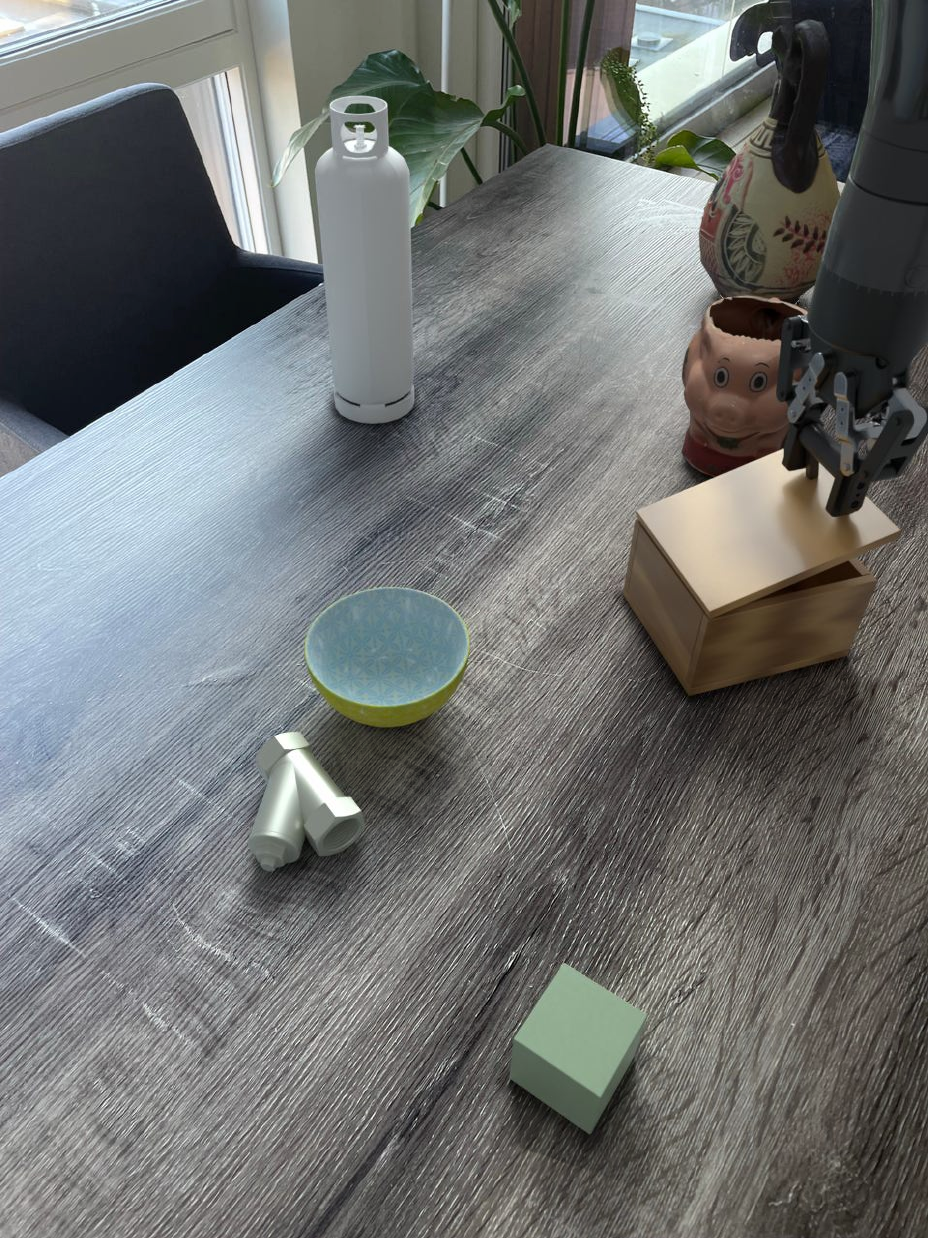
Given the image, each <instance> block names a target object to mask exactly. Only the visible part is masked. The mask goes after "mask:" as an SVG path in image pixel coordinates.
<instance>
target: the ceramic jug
mask: <svg viewBox="0 0 928 1238" xmlns="http://www.w3.org/2000/svg"><path fill="white" fill-rule="evenodd" d="M825 27H826V26H825V25H824V23H823V22H822V21H817V20H814V19H805V20H802V21H801V22H799V23H796V24H795V25H794V28H793V30H792V33H791V31H790V29H789V28H788V26H786V25H783V24H781V25H779V26H778V27H777V28H776V29H775V30H774V32H773V33H772V35H771V43H770V44H771V45H770V50H771V51H772V52H773V54H775V56H776V57H777V58H778V59H779V60H780V61H781V63H782V74H781V75H782V76H781V83H780V87H779V91H778V92H777V95H776V98H775V102H774V106H773V108H772V110H771V112H770V113H768V115H767V116H766V118H765V119H764V120H763V122H762V123H761V124H760V125H759V127H757V129H756V130H755V131H754V132H753V134H751V136H750V137H749V138H748V139H747V140H746V141H745V143H744V144H743V146H742V147H741V148H740V149H739V150H738V152H737V153H736V154H735V156H734V157H733V158H732V160H731V161H730V162H729V163H728V165H727V166H726V167H725V169H724V170H723V172H722V173H721V175H720V177H719V178H718V179H717V181H716V183H715V185H714V187H713V189H712V191H711V194H710V195H709V197H708V199H707V202H706V204H705V205H704V208H703V214H702V216H701V220H700V225H699V228H698V229H699V230H698V247H699V257H700V258H699V261H700V264H701V266H702V267H703V269H704V270H705V272H706V273H707V275H708V277H709V279H710V280H711V282H712V283H713V285H714V287H715V290H716V292H717V294H718V293H719V294H720V295H721V296H722V297H723V298H727V297H737V296H757V297H762V298H767V299H771V298H773V297H774V298H778V299H779V300H780V301H783V302H786V303H790V304H793V305H794V304H795V303H796V302H797V301H798V300H799V301H800V297H802V296H803V295H805V294H806V293H807V292H808V291H809V290H811V289H812V288H814V286H815V282H816V279H817V275H818V271H819V267H820V263H821V259H822V255H823V252H824V248H825V244H826V240H827V236H828V232H829V229H830V225H831V221H832V217H833V214H834V211H835V208H836V205H837V203H838V200H839V198H840V196H841V192H840V190H839V183H838V180H837V177H836V173H835V172H834V170H833V164H832V162H831V161H830V160H831V159H830V157H829V154H828V151H827V150H826V148H825V146H824V143H823V139H822V136H821V135H820V133H819V131H818V129H817V127H816V120H817V115H818V111H819V107H820V103H821V102H822V98H823V92H824V89H825V86H826V84H827V74H828V70H829V62H830V56H831V55H830V54H831V51H830V50H831V49H830V48H831V47H830V46H831V44H830V39H829V38H830V37H829V34H828V32H827V31H826V28H825ZM719 294H718V299H719V300H721V299H723V298H722V297H721V296H720V295H719ZM798 304H799V303H798ZM798 304H796V305H795V306H798Z"/></svg>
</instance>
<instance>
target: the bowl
mask: <svg viewBox="0 0 928 1238" xmlns="http://www.w3.org/2000/svg"><path fill="white" fill-rule="evenodd" d="M303 649H304V650H303V651H304V660H305V664H306V667H307V670H308V673H309V676H310V679H311V680H312V683H313V685H314V687H315V688H316V690H317V691H318V693H319V694H320V695H321V696H322V698H323V699H324V700H325V701H326V702H327V704H329V705H330V706H331V707H332V708H333V709H334V710H335V711H336V712H338V713H339V714H340V715H342V716H344V717H346V718H348V719H350V720H352V721H354V722H356V723H359V724H361V725H362V724H363V725H365V726H366V725H367V726H370V727H376V728H397V727H404V726H407V725H411V724H414V723H418V722H419V721H420V720H421V721H422V720H424V719H425V718H428V717H430V716H431V715H433V714H434V713H435V712H437V711H438V710H439V709H441V708H442V707H443V706H444V705H445V704H446V703H448V701H449V700H450V699H451V697H452V696H453V695H454V693H456V691H457V689H458V687H459V685H460V684H461V682H462V680H463V678H464V677H465V676H464V675H465V674H466V670H467V667H468V663H469V657H470V653H471V652H470V651H471V637H470V633H469V629H468V627H467V625H466V623H465V621H464V619H463V618H462V617H461V615H460V614H459V613H458V611H456V610H455V609H454V608H453V607H452V606H451V605H450V604H449V603H447V602H446V601H444V600H443V599H441V598H439V597H437V596H436V595H433V594H431V593H428V592H426V591H423V590H418V589H414V588H410V587H409V588H408V587H399V586H383V587H374V588H369V589H364V590H361V591H356V592H354V593H351V594H349V595H347V596H344V597H342V598H340V599H339V600H336V601H334V602H333V603H331V604H330V605H329V606H328V607H326V608H325V609H324V610H323V611H322V612H320V613H319V615H317V617H316V618H315V619H314V621H313V622H312V623H311V625H310V627H309V628H308V631H307V633H306V636H305V640H304V647H303Z"/></svg>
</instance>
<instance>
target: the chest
mask: <svg viewBox="0 0 928 1238" xmlns="http://www.w3.org/2000/svg"><path fill="white" fill-rule="evenodd" d="M878 582H879V581H878V579H877V578H876V577H875V575H873V574H872V573H871V571H870V570H869V569H868V568H867V567H866V566H865V565H864V564H863V563H862V562H861V560H859V559H858V558H857V557H855V558H852V559H850V560H848V561H845V562H843V563H841V564H838V565H836V566H834V567H831V568H829V569H827V570H824V571H822V572H820V573H817V574H815V575H813V576H810V577H808V578H806V579H803V580H801V581H799V582H796V583H794V584H791V585H789V586H787V587H784V588H782V589H780V590H777V591H775V592H773V593H770V594H768V595H766V596H763V597H761V598H759V599H756V600H754V601H752V602H749V603H747V604H745V605H742V606H740V607H738V608H735V609H733V610H731V611H728V612H726V613H723V614H721V615H719V616H716V617H714V618H712V619H710V618H709V617H708V616H707V614H706V613H705V611H704V610H703V609H702V607H701V606H700V604H699V603H698V602H697V600H696V599H695V598H694V596H693V595H692V593H691V592H690V591H689V589H688V588H687V587H686V585H685V584H684V582H683V581H682V580H681V578H680V577H679V576H678V574H677V573H676V571H675V570H674V569H673V567H672V566H671V564H670V563H669V562H668V560H667V559H666V558H665V556H664V555H663V553H662V552H661V551H660V549H659V548H658V547H657V545H656V544H655V542H654V541H653V540H652V538H651V537H650V535H649V534H648V533H647V531H646V530H645V529H644V527H643V526H642V524H641V523H640V522H639V520H638V519H637V518H635V520H634V526H633V532H632V539H631V544H630V549H629V555H628V561H627V567H626V573H625V578H624V585H623V590H622V596H623V597H624V599H625V601H626V602H627V603H628V605H629V607H630V608H631V610H632V611H633V612H634V614H635V615H636V617H637V618H638V621H639V622H640V623H641V624H642V626H643V628H644V629H645V631H646V632H647V634H648V635H649V637H650V638H651V640H652V642H653V643H654V645H655V647H657V649H658V651H659V652H660V654H661V655H662V657H663V659H664V660H665V662H666V663H667V665H668V666H669V668H670V669H671V670H672V673H673V674H674V675H675V677H676V679H677V680H678V681H679V683H680V684H681V686H682V688H683V689H684V691H685V692H686V694H687V695H688V696H689V697H691V696H696V695H698V694H702V693H707V692H711V691H714V690H718V689H723V688H726V687H729V686H730V687H731V686H735V685H738V684H742V683H746V682H750V681H754V680H758V679H762V678H765V677H770V676H774V675H777V674H782V673H785V672H790V671H794V670H798V669H802V668H806V667H809V666H813V665H817V664H821V663H825V662H828V661H832V660H836V659H837V660H838V659H840V658H845V657H847V656H848V655H849V653H850V650H851V648H852V645H853V643H854V641H855V638H856V636H857V633H858V630H859V628H860V627H861V623H862V621H863V619H864V616H865V614H866V612H867V609H868V607H869V604H870V602H871V599H872V596H873V594H874V592H875V589H876V587H877V585H878Z"/></svg>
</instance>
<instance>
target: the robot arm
mask: <svg viewBox="0 0 928 1238" xmlns="http://www.w3.org/2000/svg"><path fill="white" fill-rule="evenodd" d="M870 38H871V39H870V65H869V82H868V83H869V84H868V97H867V103H866V107H865V110H864V114H863V118H862V122H861V126H860V130H859V134H858V137H857V141H856V145H855V149H854V153H853V156H852V160H851V164H850V168H849V171H848V174H847V177H846V179H845V183H844V185H843V189H842V190H841V192H840V198H839V200H838V203H837V205H836V208H835V211H834V214H833V217H832V221H831V225H830V229H829V232H828V236H827V240H826V244H825V248H824V252H823V255H822V259H821V263H820V267H819V271H818V275H817V279H816V282H815V285H814V286H813V289H812V290H813V291H812V294H811V297H810V302H809V305H808V309H807V312H808V313H807V314H805V315H799V316H795V317H790V318H786V319H785V320H784V322H783V329H782V339H781V348H780V358H779V368H778V378H777V387H776V397H777V399H778V401H779V402H786V403H787V405H788V407H789V408H788V411H787V416H788V419H789V421H790V422H791V423H790V427H789V431H788V434H787V438H786V442H785V445H784V456H783V460H782V465H783V466H784V467H785V468H786V469H787V470H788V471H795V470H799V469H804V468H806V449H805V448H804V447H803V446H802V445H801V444H800V443H799V440H798V437H799V434H800V432H801V431H802V429H803V428H804V427H806V426H807V425H809V424H811V423H818V424H820V425H821V426H822V427H823V428H824V427H825V423H824V422H823V421H822V420H821V418H824V417H826V416H827V415H828V413H829V411H830V410H831V409H832V410H834V412H835V428H834V429H835V431H834V434H835V438H836V440H839V441H840V445H841V462H840V469H838V470H837V473H836V476H835V479H834V482H833V486H832V489H831V492H830V495H829V498H828V501H827V504H826V507H825V510H826V511H827V512H828V513H829V514H830V515H831V516H832V517H838V516H843V515H848V514H852V513H854V512H856V511H859V510H860V509H861V508H862V506H863V503H864V500H865V497H866V496H867V494H868V492H869V489H870V486H871V483H876V482H881V481H885V480H890V479H894V478H897V477H898V478H899V477H901V476H902V475H903V473H904V471H905V470H906V469H907V467H908V465H909V463H910V462H911V461H912V459H913V457H915V455H916V453H917V451H918V450H919V448H920V447H921V445H922V444H923V443H924V441H925V439H926V438H927V437H928V404H925V405H921V406H920V405H919V403H918V402H917V401H916V400H915V398H914V397H913V395H912V394H911V393H910V392H909V388H910V385H911V367H912V362H913V360H914V359H915V358H916V356H917V355H918V354H919V353H920V352H921V351H922V349H924V347H925V346H926V345H927V344H928V0H871V36H870ZM798 368H802V373H801V381H800V382H797V383H793V375H794V371H795V370H796V369H798ZM867 418H872V419H871V420H870V421H868V422H864V423H859V424H855V421H858V420H862V419H867ZM824 429H825V428H824ZM863 441H866V445H865V447H866V450H865V453H863V454H860V444H861V442H863Z"/></svg>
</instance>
